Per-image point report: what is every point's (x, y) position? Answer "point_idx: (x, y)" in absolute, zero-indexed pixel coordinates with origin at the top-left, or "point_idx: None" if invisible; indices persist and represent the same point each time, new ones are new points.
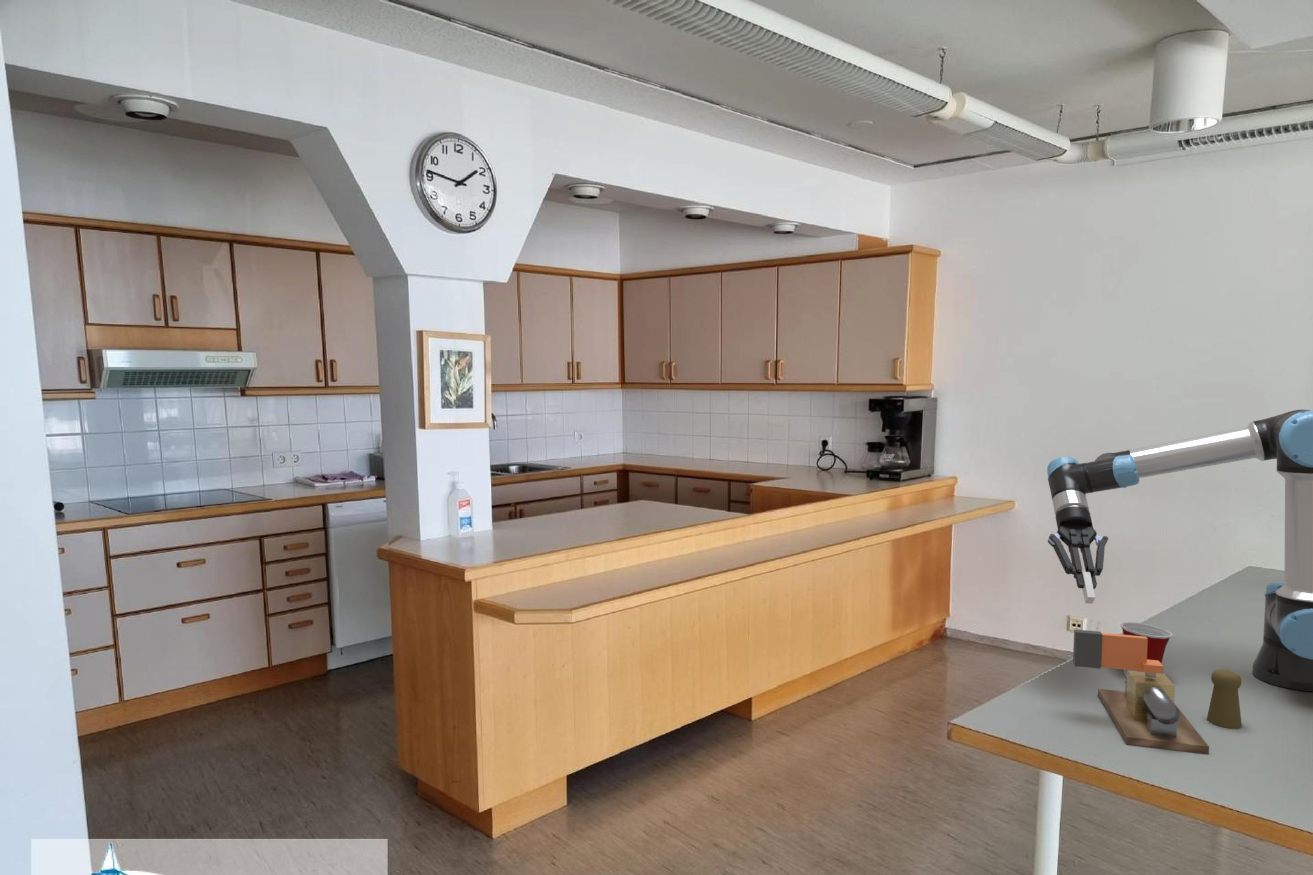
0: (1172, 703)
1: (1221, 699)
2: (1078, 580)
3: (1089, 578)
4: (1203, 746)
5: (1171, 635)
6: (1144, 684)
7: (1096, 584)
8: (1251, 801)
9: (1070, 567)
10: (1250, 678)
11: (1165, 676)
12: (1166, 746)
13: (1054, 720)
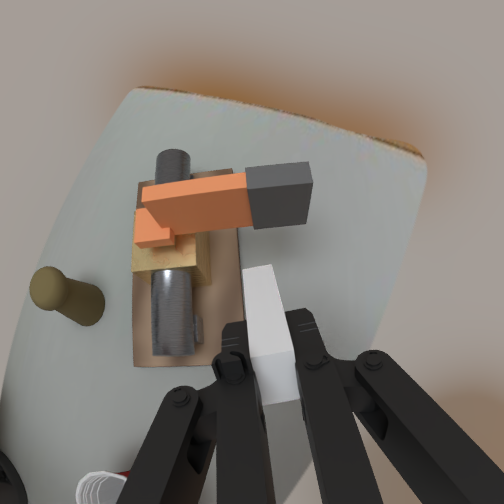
0: (161, 155)
1: (74, 281)
2: (313, 322)
3: (257, 327)
4: (144, 182)
5: (77, 489)
6: None
7: (224, 330)
8: (147, 107)
9: (371, 355)
10: (30, 488)
11: (134, 255)
12: None
13: (323, 215)
